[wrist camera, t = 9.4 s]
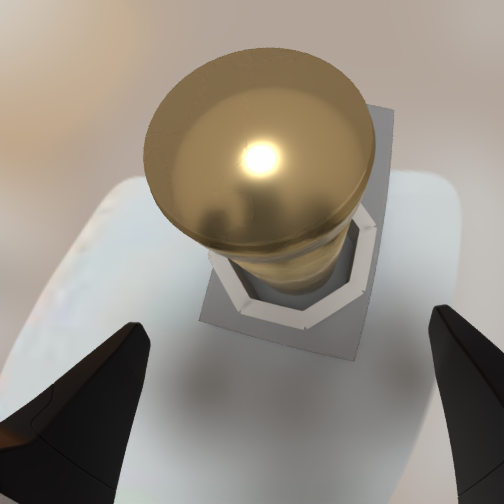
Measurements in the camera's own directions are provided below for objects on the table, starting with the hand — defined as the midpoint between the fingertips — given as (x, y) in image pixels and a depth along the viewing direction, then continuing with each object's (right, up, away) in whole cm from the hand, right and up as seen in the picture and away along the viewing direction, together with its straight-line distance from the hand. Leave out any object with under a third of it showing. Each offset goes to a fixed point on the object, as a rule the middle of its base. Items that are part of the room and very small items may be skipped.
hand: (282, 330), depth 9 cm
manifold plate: (+3, +5, +10) cm, 11 cm away
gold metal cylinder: (+2, +2, +9) cm, 9 cm away
